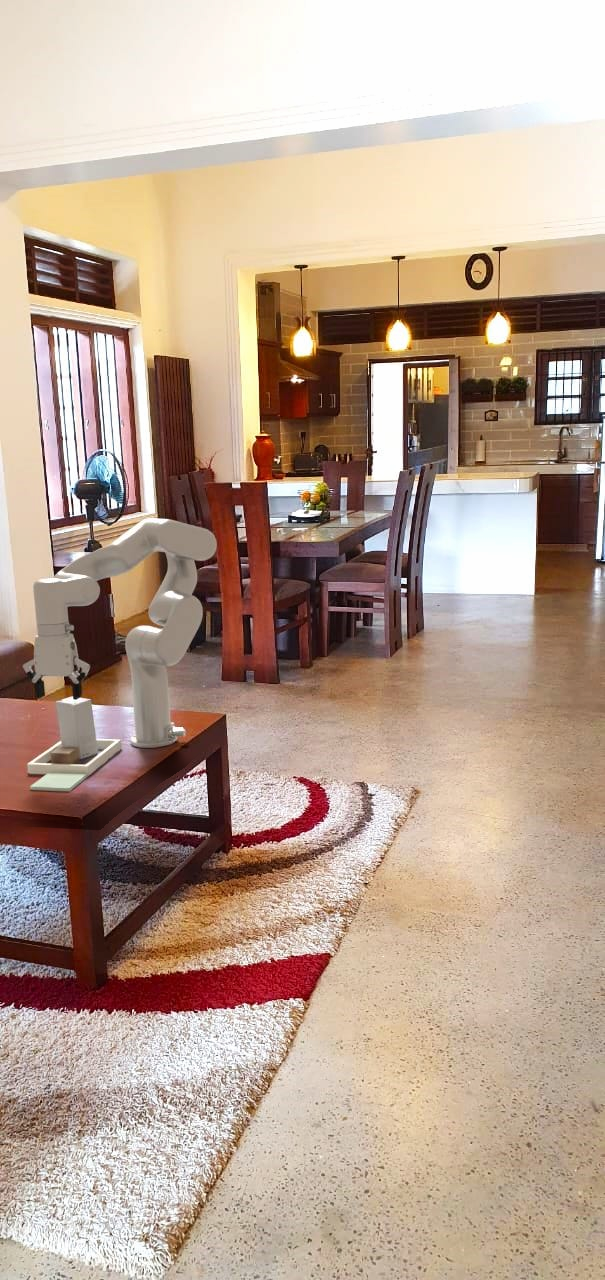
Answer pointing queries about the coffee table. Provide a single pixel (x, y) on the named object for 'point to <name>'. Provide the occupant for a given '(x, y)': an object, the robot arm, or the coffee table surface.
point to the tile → (58, 781)
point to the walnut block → (65, 755)
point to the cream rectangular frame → (43, 767)
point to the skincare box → (77, 725)
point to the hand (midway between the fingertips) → (59, 697)
